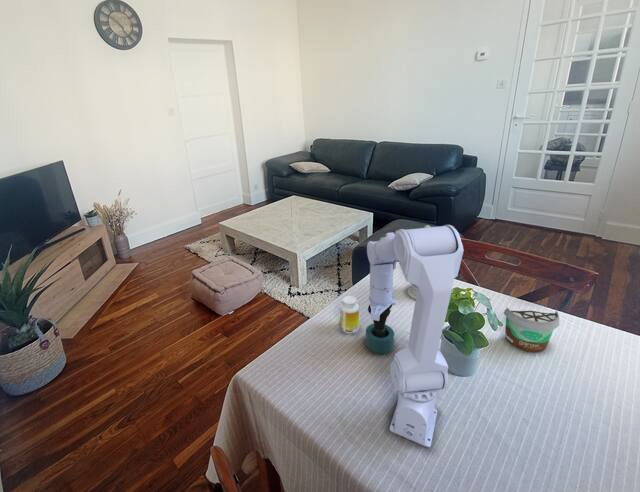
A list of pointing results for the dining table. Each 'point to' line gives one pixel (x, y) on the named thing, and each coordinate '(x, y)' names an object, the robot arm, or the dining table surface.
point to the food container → (530, 329)
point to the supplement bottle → (349, 315)
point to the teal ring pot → (379, 340)
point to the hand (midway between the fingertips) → (379, 326)
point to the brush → (380, 333)
